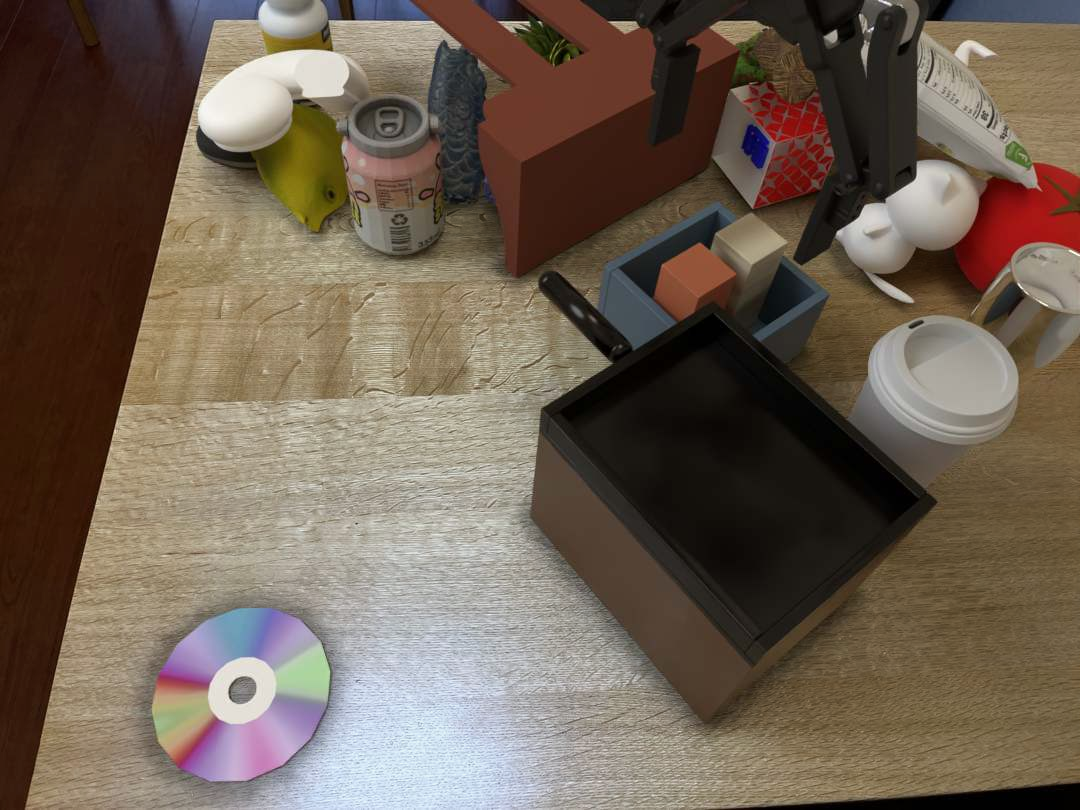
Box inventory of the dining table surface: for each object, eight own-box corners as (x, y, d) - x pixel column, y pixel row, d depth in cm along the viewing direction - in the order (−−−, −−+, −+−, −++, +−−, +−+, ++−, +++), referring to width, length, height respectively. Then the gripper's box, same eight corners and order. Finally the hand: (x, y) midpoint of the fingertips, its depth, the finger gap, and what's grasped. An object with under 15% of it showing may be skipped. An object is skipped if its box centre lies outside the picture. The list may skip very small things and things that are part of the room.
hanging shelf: (708, 167, 86) (519, 17, 98) (740, 49, 75) (523, -103, 87) (516, 278, 77) (333, 98, 89) (521, 162, 66) (312, -25, 78)
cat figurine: (855, 221, 84) (970, 143, 76) (905, 318, 82) (1030, 249, 73) (806, 217, 79) (925, 133, 70) (858, 322, 76) (988, 247, 68)
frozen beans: (761, 47, 67) (1014, 223, 70) (811, -24, 64) (1075, 165, 67) (765, -7, 83) (970, 137, 87) (805, -66, 80) (1018, 87, 83)
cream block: (754, 324, 75) (788, 242, 67) (722, 346, 74) (752, 264, 65) (722, 295, 77) (751, 211, 69) (689, 316, 75) (715, 232, 67)
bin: (801, 352, 75) (831, 294, 68) (695, 426, 70) (716, 371, 63) (699, 262, 80) (717, 200, 73) (593, 326, 75) (603, 265, 69)
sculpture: (228, 82, 81) (193, -1, 75) (387, 70, 79) (365, -16, 73) (195, 166, 74) (152, 82, 67) (369, 154, 72) (342, 67, 66)
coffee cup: (904, 421, 71) (994, 300, 59) (950, 527, 66) (1059, 419, 54) (792, 431, 70) (859, 310, 58) (829, 540, 65) (912, 433, 52)
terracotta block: (708, 355, 73) (737, 274, 65) (673, 378, 72) (698, 298, 63) (675, 324, 75) (700, 241, 66) (641, 346, 73) (661, 264, 65)
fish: (284, 228, 76) (385, 217, 82) (226, 68, 77) (328, 69, 84) (275, 243, 78) (373, 231, 84) (218, 87, 80) (319, 87, 86)
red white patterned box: (821, 189, 86) (849, 123, 79) (752, 209, 84) (775, 143, 77) (777, 138, 90) (800, 71, 83) (711, 156, 88) (729, 88, 81)
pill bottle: (332, 111, 88) (313, 4, 78) (268, 106, 88) (241, -3, 78) (344, 72, 92) (328, -36, 82) (283, 66, 92) (259, -43, 82)
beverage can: (354, 188, 82) (336, 78, 72) (444, 186, 83) (439, 76, 73) (352, 262, 77) (333, 154, 67) (448, 258, 78) (443, 151, 68)
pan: (850, 595, 63) (939, 501, 50) (704, 724, 57) (765, 653, 45) (601, 347, 74) (625, 220, 62) (459, 434, 68) (454, 314, 56)
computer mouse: (252, 75, 86) (257, 112, 89) (176, 134, 78) (184, 173, 81) (316, 96, 85) (319, 132, 88) (246, 158, 77) (251, 196, 80)
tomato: (915, 205, 82) (993, 123, 73) (1025, 221, 86) (1112, 144, 77) (962, 334, 75) (1054, 260, 67) (1079, 345, 79) (1182, 277, 70)
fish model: (490, 69, 94) (490, 26, 89) (500, 210, 82) (501, 168, 78) (427, 70, 93) (424, 27, 89) (429, 212, 82) (425, 170, 77)
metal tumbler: (1016, 394, 73) (1125, 273, 61) (983, 449, 70) (1091, 332, 58) (939, 351, 76) (1030, 224, 63) (904, 401, 72) (992, 279, 60)
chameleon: (924, -11, 91) (780, 6, 100) (818, 30, 70) (648, 46, 79) (922, 59, 93) (781, 69, 103) (819, 117, 73) (655, 123, 82)
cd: (254, 819, 52) (255, 819, 52) (365, 658, 58) (365, 659, 58) (112, 722, 55) (113, 723, 55) (231, 578, 61) (231, 578, 61)
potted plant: (629, 174, 80) (475, 111, 78) (609, 169, 93) (475, 115, 90) (682, 43, 77) (524, -27, 75) (654, 55, 90) (517, -5, 87)
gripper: (604, -240, 44) (570, 113, 62) (1024, -7, 34) (841, 338, 51) (709, -269, 47) (649, 76, 65) (1127, -63, 37) (920, 282, 54)
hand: (734, 192), depth 58 cm, fingers open, 13 cm apart
